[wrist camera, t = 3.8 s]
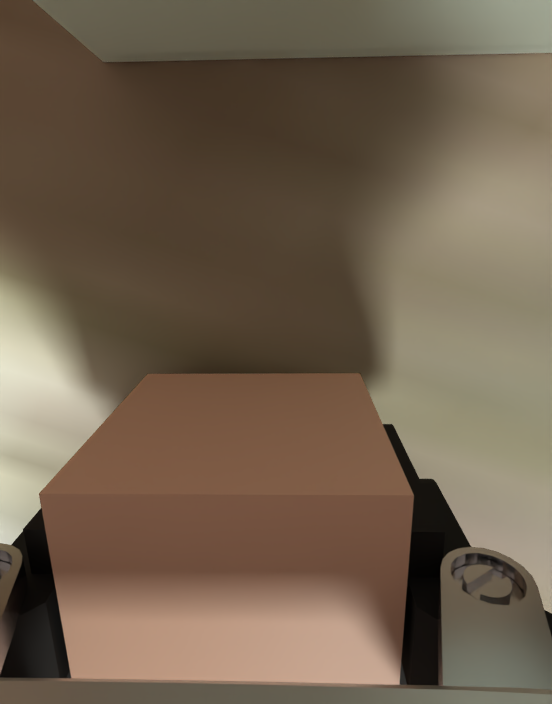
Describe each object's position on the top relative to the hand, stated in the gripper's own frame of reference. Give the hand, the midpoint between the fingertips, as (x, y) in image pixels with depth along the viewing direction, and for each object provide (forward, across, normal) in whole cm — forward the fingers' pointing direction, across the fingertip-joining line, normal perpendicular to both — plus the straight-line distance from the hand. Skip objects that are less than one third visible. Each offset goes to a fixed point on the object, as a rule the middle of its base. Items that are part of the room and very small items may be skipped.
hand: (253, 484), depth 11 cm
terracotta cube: (+1, 0, 0) cm, 1 cm away
